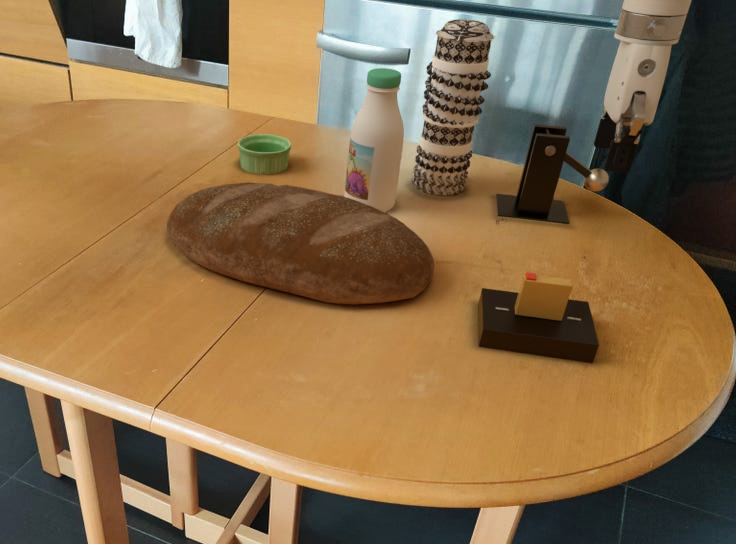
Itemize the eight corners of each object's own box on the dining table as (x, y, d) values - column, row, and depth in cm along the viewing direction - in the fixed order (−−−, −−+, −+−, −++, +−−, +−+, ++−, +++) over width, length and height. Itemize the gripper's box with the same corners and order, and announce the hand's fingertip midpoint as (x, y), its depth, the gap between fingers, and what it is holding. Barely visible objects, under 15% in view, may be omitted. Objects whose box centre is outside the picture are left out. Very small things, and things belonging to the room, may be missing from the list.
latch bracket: (561, 207, 110) (585, 125, 103) (566, 230, 104) (593, 144, 97) (494, 200, 112) (513, 118, 105) (496, 222, 106) (516, 137, 98)
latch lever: (594, 190, 105) (611, 173, 104) (597, 199, 103) (615, 182, 101) (531, 143, 104) (548, 125, 102) (533, 150, 101) (550, 132, 99)
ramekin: (267, 154, 126) (268, 130, 124) (301, 170, 121) (302, 144, 118) (227, 166, 122) (226, 140, 119) (260, 183, 116) (260, 156, 114)
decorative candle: (422, 206, 110) (451, 31, 95) (399, 182, 117) (423, 17, 102) (476, 201, 112) (513, 29, 97) (450, 178, 119) (481, 15, 104)
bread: (399, 337, 81) (409, 273, 76) (132, 260, 95) (126, 201, 90) (451, 257, 97) (462, 199, 92) (215, 200, 111) (214, 147, 106)
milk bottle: (388, 196, 113) (406, 64, 101) (398, 218, 107) (419, 79, 95) (339, 197, 112) (352, 64, 100) (347, 219, 106) (362, 79, 94)
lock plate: (581, 323, 84) (588, 300, 83) (591, 367, 77) (600, 343, 76) (477, 308, 87) (482, 286, 85) (477, 351, 80) (483, 327, 78)
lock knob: (560, 313, 80) (571, 277, 78) (561, 321, 79) (573, 284, 76) (514, 307, 81) (524, 271, 78) (514, 314, 80) (525, 278, 77)
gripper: (699, 42, 83) (651, 183, 93) (666, 16, 97) (627, 141, 107) (630, 39, 84) (590, 178, 94) (607, 13, 98) (574, 137, 108)
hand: (610, 158), depth 101 cm, fingers open, 9 cm apart
